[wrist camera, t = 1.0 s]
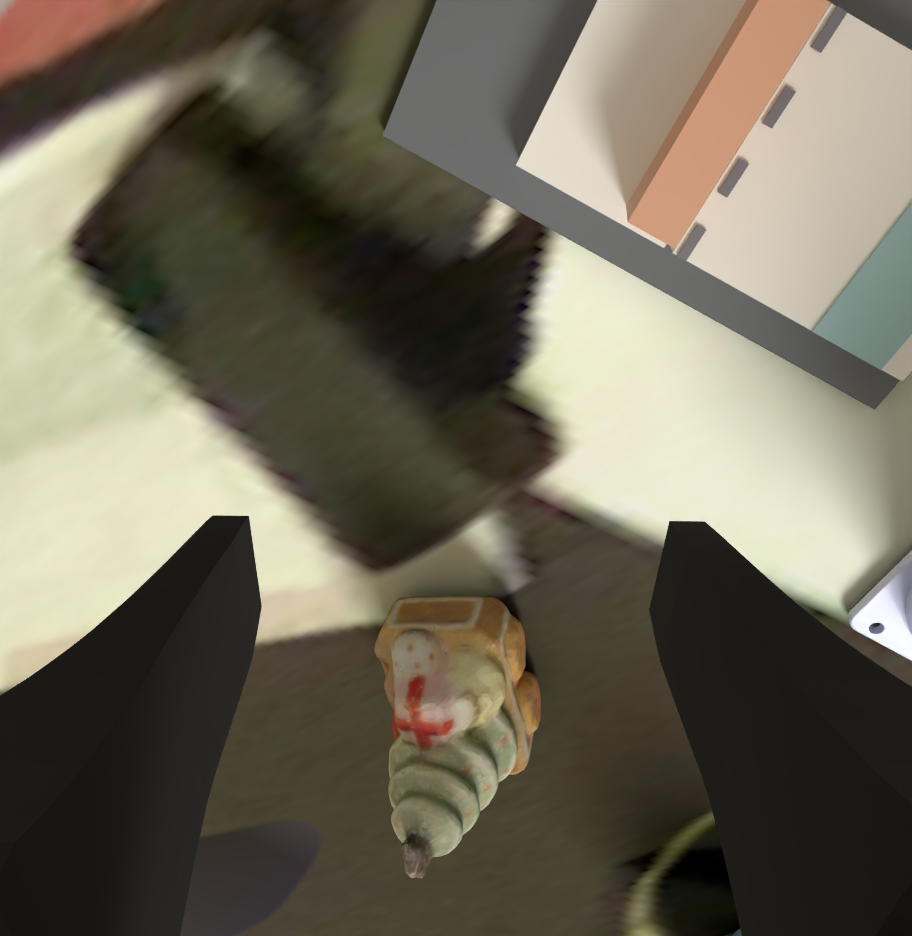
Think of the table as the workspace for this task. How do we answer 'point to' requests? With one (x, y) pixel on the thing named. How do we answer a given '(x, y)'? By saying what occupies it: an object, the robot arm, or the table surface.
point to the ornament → (452, 715)
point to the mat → (495, 172)
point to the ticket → (824, 197)
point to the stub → (663, 103)
